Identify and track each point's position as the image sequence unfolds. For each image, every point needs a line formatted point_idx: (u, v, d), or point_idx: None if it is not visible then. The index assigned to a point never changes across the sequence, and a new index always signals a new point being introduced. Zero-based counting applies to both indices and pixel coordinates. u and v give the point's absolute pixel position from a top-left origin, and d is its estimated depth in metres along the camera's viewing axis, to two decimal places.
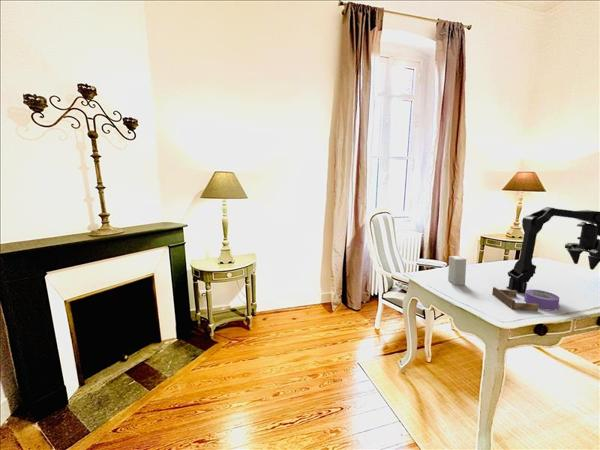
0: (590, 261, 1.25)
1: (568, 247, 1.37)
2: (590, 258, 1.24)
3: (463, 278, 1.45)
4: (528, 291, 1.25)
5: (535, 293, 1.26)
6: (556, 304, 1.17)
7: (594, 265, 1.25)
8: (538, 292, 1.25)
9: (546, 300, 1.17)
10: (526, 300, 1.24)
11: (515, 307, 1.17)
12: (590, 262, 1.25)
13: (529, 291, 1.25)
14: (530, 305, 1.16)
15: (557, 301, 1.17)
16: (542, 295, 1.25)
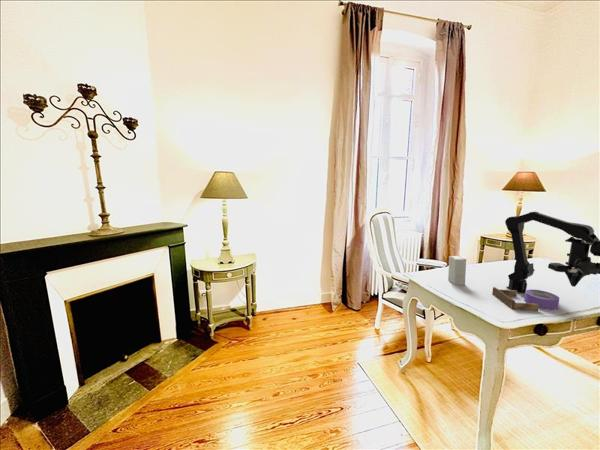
0: None
1: None
2: None
3: (463, 278, 1.45)
4: (528, 291, 1.25)
5: (535, 293, 1.26)
6: (556, 304, 1.17)
7: (571, 281, 1.19)
8: (538, 292, 1.25)
9: (546, 300, 1.17)
10: (526, 300, 1.24)
11: (515, 307, 1.17)
12: None
13: (529, 291, 1.25)
14: (530, 305, 1.16)
15: (557, 301, 1.17)
16: (542, 295, 1.25)
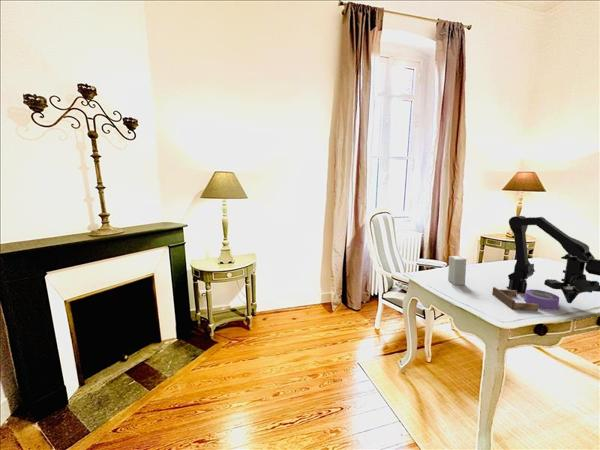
0: None
1: None
2: None
3: (463, 278, 1.45)
4: (528, 291, 1.25)
5: (535, 293, 1.26)
6: (556, 304, 1.17)
7: (567, 298, 1.20)
8: (538, 292, 1.25)
9: (546, 300, 1.17)
10: (526, 300, 1.24)
11: (515, 307, 1.17)
12: None
13: (529, 291, 1.25)
14: (530, 305, 1.16)
15: (557, 301, 1.17)
16: (542, 295, 1.25)
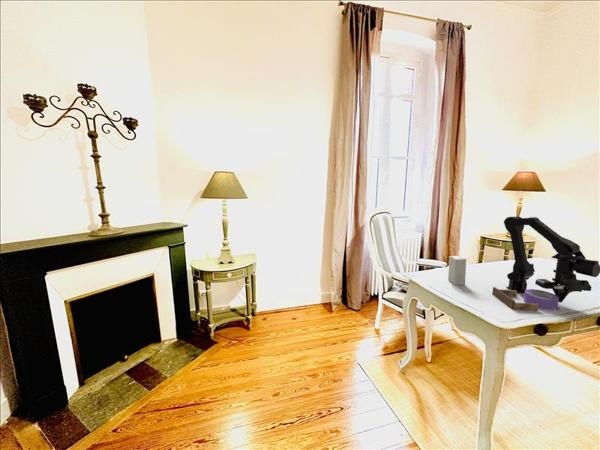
0: None
1: None
2: None
3: (463, 278, 1.45)
4: (527, 291, 1.25)
5: (535, 293, 1.26)
6: (555, 304, 1.17)
7: None
8: (538, 292, 1.25)
9: (545, 300, 1.17)
10: (525, 300, 1.24)
11: (515, 307, 1.17)
12: None
13: (528, 291, 1.25)
14: (530, 305, 1.16)
15: (556, 301, 1.17)
16: (542, 295, 1.24)
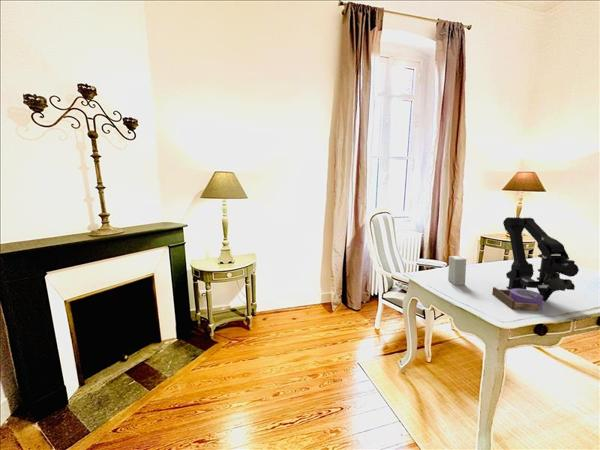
0: None
1: None
2: None
3: (463, 278, 1.45)
4: (513, 290, 1.26)
5: (520, 292, 1.27)
6: (539, 303, 1.18)
7: None
8: (523, 291, 1.26)
9: (530, 299, 1.18)
10: None
11: (515, 307, 1.17)
12: None
13: (514, 290, 1.26)
14: (530, 305, 1.16)
15: (540, 300, 1.18)
16: (527, 294, 1.25)
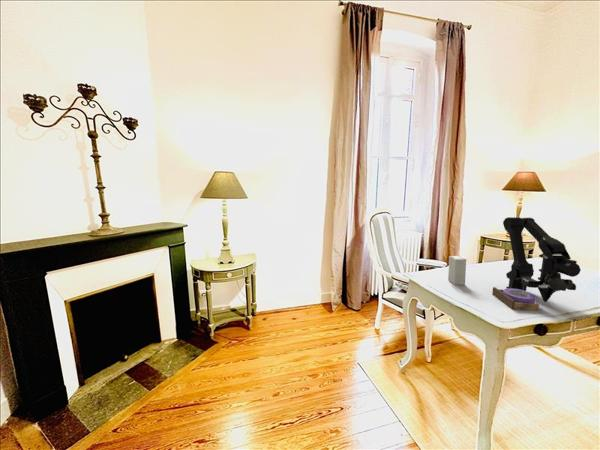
0: None
1: None
2: None
3: (463, 278, 1.45)
4: (506, 290, 1.27)
5: (513, 292, 1.27)
6: (532, 303, 1.18)
7: (543, 296, 1.22)
8: (516, 291, 1.27)
9: (522, 299, 1.18)
10: None
11: (515, 307, 1.17)
12: None
13: (507, 290, 1.27)
14: (530, 305, 1.16)
15: (533, 300, 1.18)
16: (520, 294, 1.26)
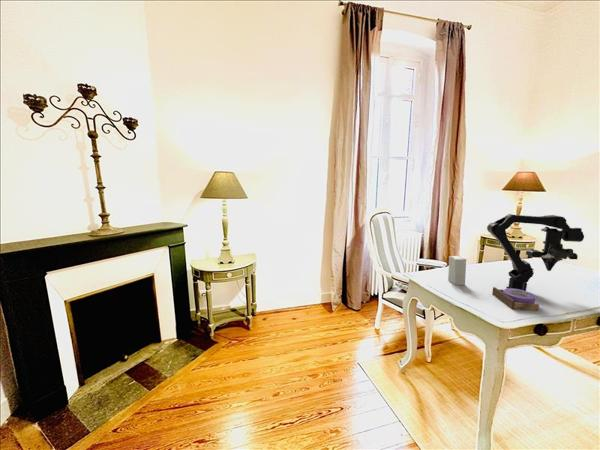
0: None
1: None
2: None
3: (463, 278, 1.45)
4: (506, 290, 1.27)
5: (513, 292, 1.27)
6: (532, 303, 1.18)
7: (546, 266, 1.32)
8: (516, 291, 1.27)
9: (522, 299, 1.18)
10: None
11: (515, 307, 1.17)
12: None
13: (507, 290, 1.27)
14: (530, 305, 1.16)
15: (533, 300, 1.18)
16: (520, 294, 1.26)
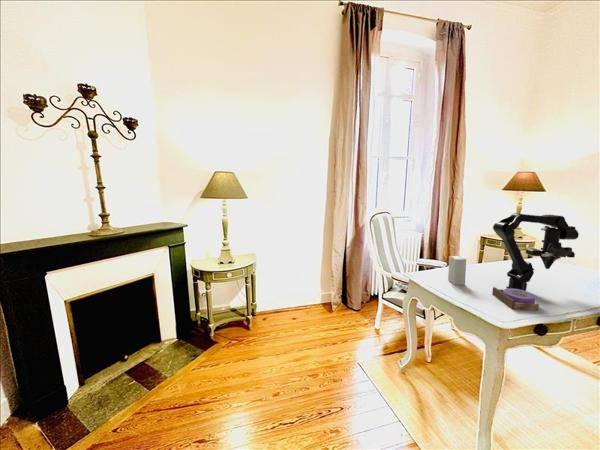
0: None
1: None
2: None
3: (463, 278, 1.45)
4: (506, 290, 1.27)
5: (513, 292, 1.27)
6: (532, 303, 1.18)
7: (545, 264, 1.36)
8: (516, 291, 1.27)
9: (522, 299, 1.18)
10: None
11: (515, 307, 1.17)
12: None
13: (507, 290, 1.27)
14: (530, 305, 1.16)
15: (533, 300, 1.18)
16: (520, 294, 1.26)
